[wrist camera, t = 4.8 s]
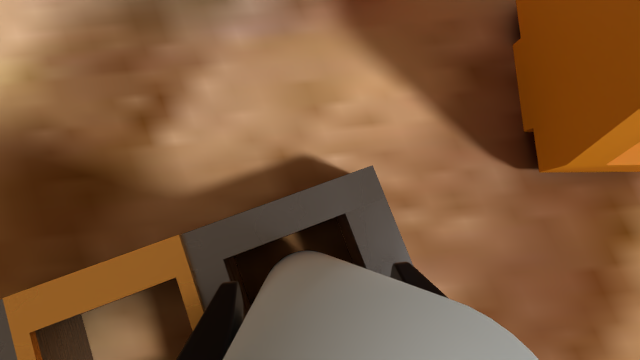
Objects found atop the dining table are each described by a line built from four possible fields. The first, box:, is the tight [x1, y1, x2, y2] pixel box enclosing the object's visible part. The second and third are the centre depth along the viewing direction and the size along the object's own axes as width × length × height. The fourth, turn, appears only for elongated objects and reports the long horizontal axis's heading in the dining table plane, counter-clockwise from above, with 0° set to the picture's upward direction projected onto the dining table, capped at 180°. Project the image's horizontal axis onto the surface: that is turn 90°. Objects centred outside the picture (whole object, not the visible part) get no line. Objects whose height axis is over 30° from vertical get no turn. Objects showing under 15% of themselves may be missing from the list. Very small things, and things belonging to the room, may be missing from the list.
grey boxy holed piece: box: [0, 165, 413, 360], centre depth 15 cm, size 9×17×3 cm, turn 111°
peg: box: [223, 250, 538, 360], centre depth 9 cm, size 4×4×12 cm
